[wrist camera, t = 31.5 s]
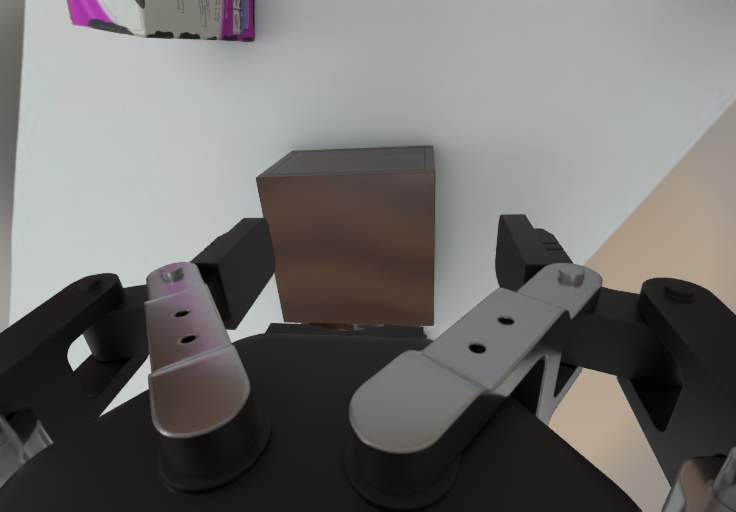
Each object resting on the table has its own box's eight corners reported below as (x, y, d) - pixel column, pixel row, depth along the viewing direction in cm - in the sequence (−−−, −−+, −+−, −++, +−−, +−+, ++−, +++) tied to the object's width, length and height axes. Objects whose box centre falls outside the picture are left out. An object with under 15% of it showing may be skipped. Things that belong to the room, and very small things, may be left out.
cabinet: (432, 273, 46) (433, 326, 37) (310, 272, 48) (283, 322, 39) (433, 145, 39) (435, 172, 30) (291, 150, 41) (255, 177, 32)
